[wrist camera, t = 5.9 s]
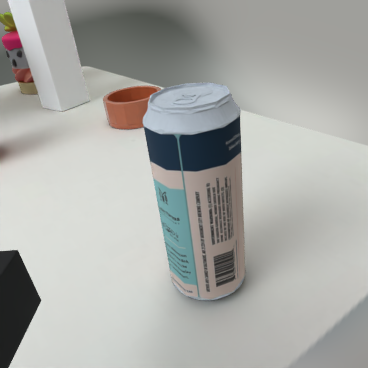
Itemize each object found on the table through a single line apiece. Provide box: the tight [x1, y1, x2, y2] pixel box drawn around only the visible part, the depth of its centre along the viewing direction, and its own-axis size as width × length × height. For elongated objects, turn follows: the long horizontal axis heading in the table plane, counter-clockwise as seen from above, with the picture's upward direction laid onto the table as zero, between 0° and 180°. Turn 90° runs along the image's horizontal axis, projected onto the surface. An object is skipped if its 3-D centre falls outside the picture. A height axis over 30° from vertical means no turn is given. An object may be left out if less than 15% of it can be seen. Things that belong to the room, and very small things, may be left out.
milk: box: [7, 0, 90, 112], centre depth 56 cm, size 6×6×22 cm
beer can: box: [143, 83, 246, 300], centre depth 20 cm, size 5×5×12 cm
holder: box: [103, 86, 161, 129], centre depth 50 cm, size 8×8×4 cm
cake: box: [0, 12, 38, 94], centre depth 71 cm, size 10×11×15 cm
